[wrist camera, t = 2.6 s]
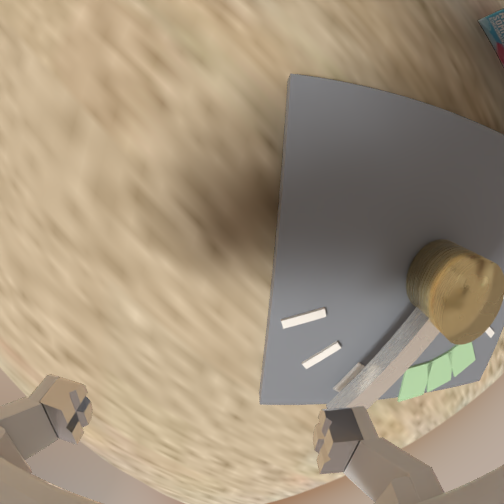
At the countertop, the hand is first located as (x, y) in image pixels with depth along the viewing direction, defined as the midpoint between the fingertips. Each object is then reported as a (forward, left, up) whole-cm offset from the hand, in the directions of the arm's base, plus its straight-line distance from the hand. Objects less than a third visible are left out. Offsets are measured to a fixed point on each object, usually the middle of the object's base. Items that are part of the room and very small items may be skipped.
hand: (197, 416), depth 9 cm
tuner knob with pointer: (0, +10, -7) cm, 13 cm away
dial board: (-3, +12, -9) cm, 15 cm away
